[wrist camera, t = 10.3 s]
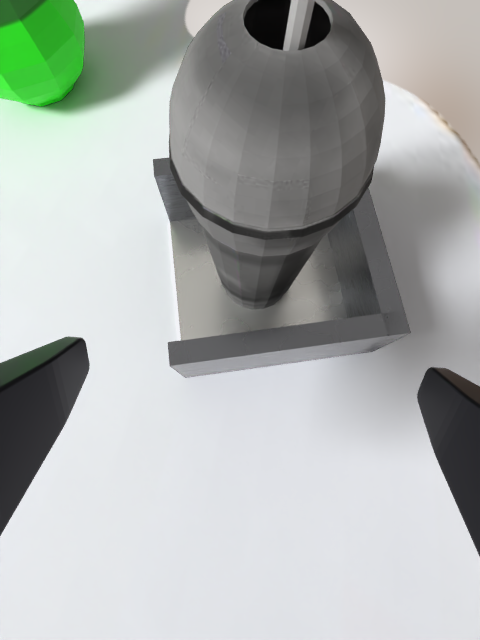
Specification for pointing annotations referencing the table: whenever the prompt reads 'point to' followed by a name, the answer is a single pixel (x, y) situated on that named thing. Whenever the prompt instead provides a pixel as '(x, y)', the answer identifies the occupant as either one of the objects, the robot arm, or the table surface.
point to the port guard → (295, 305)
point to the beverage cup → (274, 136)
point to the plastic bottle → (40, 50)
